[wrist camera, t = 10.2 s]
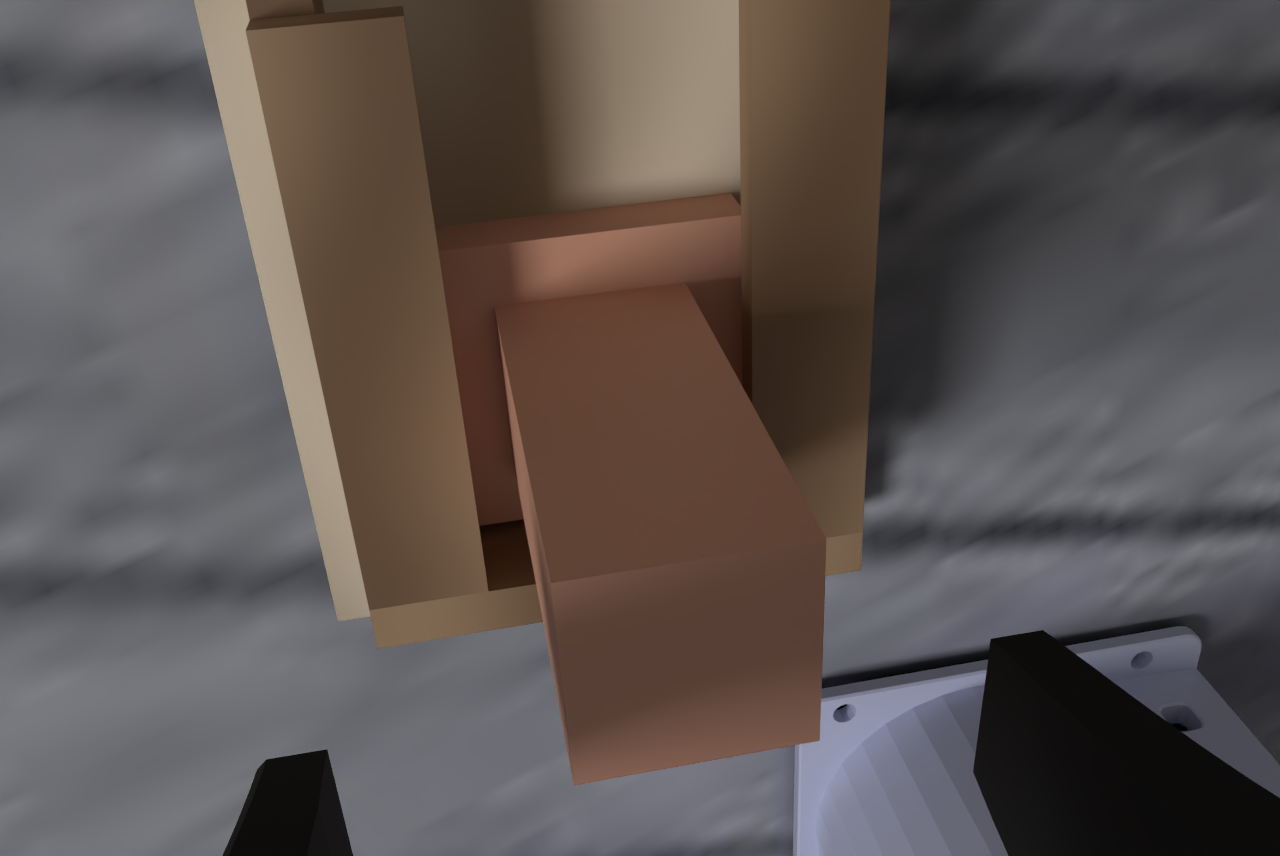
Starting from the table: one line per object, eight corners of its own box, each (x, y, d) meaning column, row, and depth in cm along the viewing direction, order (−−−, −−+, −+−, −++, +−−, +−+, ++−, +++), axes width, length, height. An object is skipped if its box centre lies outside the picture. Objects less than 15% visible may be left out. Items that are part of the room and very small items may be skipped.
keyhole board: (897, -784, 15) (1026, -903, 12) (843, 510, 24) (906, 615, 22) (29, -777, 13) (-66, -912, 10) (339, 588, 23) (334, 712, 20)
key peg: (730, 192, 20) (920, 448, 13) (734, 455, 22) (894, 783, 15) (417, 229, 19) (442, 519, 12) (458, 496, 21) (498, 858, 15)
